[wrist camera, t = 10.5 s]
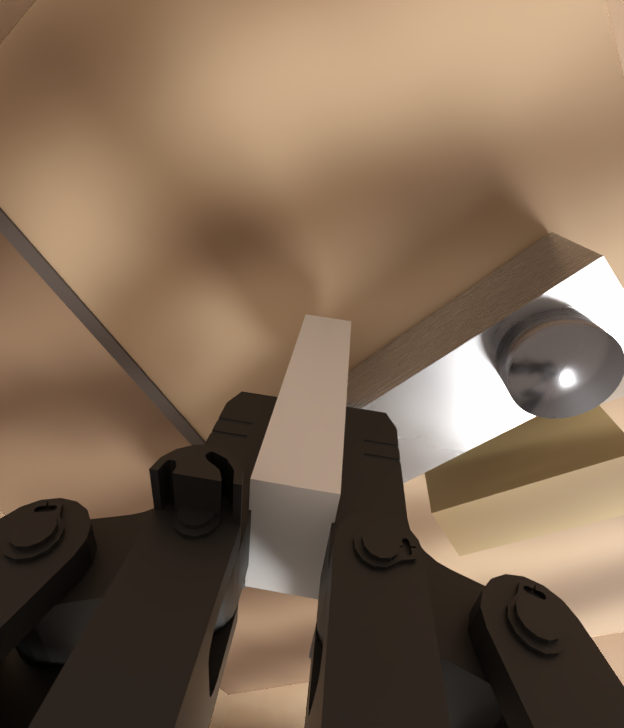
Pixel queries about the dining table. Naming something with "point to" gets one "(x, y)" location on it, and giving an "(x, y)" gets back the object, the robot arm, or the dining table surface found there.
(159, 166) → the door board
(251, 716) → the dining table surface
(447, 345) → the bar
